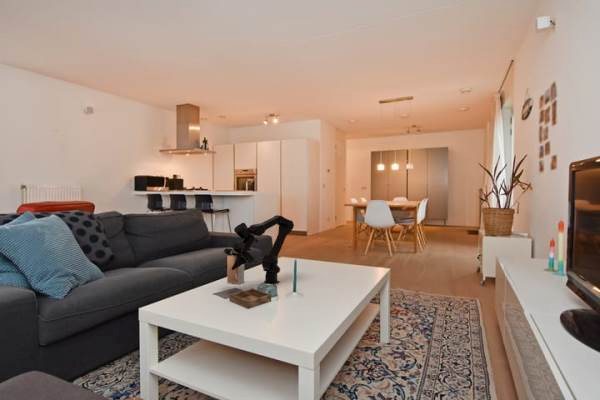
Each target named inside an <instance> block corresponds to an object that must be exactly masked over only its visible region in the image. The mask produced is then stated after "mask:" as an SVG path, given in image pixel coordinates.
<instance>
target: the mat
mask: <svg viewBox="0 0 600 400" xmlns="http://www.w3.org/2000/svg"><path fill="white" fill-rule="evenodd" d="M241 291H244V290H242V289H239V288H237V287H232V288H229V289H225V290H222V291H221V290H220V291H218V292H213V293H212V295H215V296H217V297H219V298H221V299H224V300H227V299H230V294H234V293H237V292H241Z"/></svg>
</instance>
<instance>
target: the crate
mask: <svg viewBox="0 0 600 400" xmlns="http://www.w3.org/2000/svg"><path fill="white" fill-rule="evenodd" d="M229 302H231V303H234V304H236V305H238V306H241V307H243V308H246V309H247V310H249V309H251V308H255V307H257V306H261V305H264V304H267V303H270V302H272V294H270V293H268V292H264V291H261V290H259V289H255V288H249V289H245V290H243V291H241V292H237V293H234V294H230V298H229Z"/></svg>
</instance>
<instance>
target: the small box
mask: <svg viewBox="0 0 600 400" xmlns="http://www.w3.org/2000/svg"><path fill="white" fill-rule="evenodd" d="M226 282H227V283H230V284H232V285H233V284H234V285H237V286H238V285H240V284H243V283H244V282H245V264H243V265H241V266H239V267H238V268H236V280H235V281H226Z"/></svg>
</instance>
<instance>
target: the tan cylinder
mask: <svg viewBox="0 0 600 400" xmlns="http://www.w3.org/2000/svg"><path fill="white" fill-rule="evenodd" d="M226 256H227V255H226ZM226 258H227V262H226V265H227V268H226V269H227V270H226V274H227V275H226V280H227V281H235V280H236V269H234V270H232V267H233V265H234V263H235V262H236V260H237V256H236V255H228V256H227V257H226ZM227 281H226V282H227Z"/></svg>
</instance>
